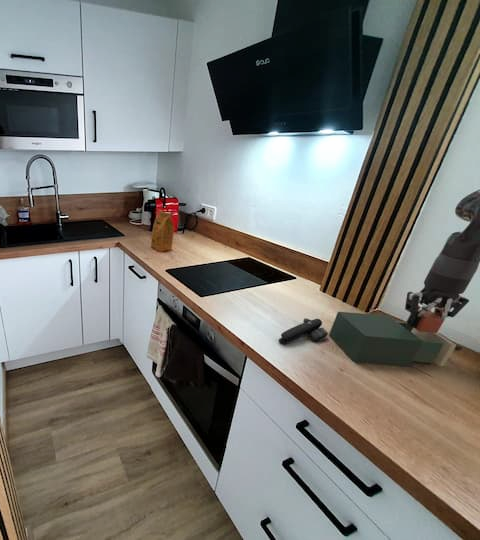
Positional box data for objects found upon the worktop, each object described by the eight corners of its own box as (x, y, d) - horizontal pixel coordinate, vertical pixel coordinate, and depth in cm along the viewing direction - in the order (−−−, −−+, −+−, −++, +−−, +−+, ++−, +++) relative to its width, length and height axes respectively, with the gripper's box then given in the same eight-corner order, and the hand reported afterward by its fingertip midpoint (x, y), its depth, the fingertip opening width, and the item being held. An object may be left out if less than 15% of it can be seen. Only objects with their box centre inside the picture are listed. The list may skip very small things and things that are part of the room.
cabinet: (376, 339, 91) (388, 315, 88) (408, 367, 80) (423, 340, 76) (328, 335, 92) (337, 311, 89) (353, 362, 81) (365, 336, 77)
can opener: (309, 327, 96) (314, 313, 94) (329, 339, 90) (335, 324, 88) (269, 337, 91) (273, 322, 88) (288, 351, 85) (293, 335, 82)
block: (422, 323, 83) (430, 310, 81) (437, 333, 79) (445, 319, 77) (405, 322, 84) (412, 308, 82) (419, 331, 79) (426, 317, 78)
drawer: (426, 342, 89) (437, 322, 86) (462, 368, 79) (476, 346, 76) (364, 337, 91) (373, 317, 88) (391, 361, 80) (402, 340, 77)
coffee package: (162, 244, 174) (165, 208, 165) (173, 251, 163) (178, 212, 155) (148, 246, 170) (150, 209, 161) (159, 253, 160) (162, 214, 151)
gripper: (434, 276, 71) (405, 332, 78) (497, 280, 70) (461, 337, 77) (409, 265, 78) (384, 317, 85) (466, 268, 77) (436, 321, 84)
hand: (421, 326), depth 81 cm, fingers closed on block, 4 cm apart
